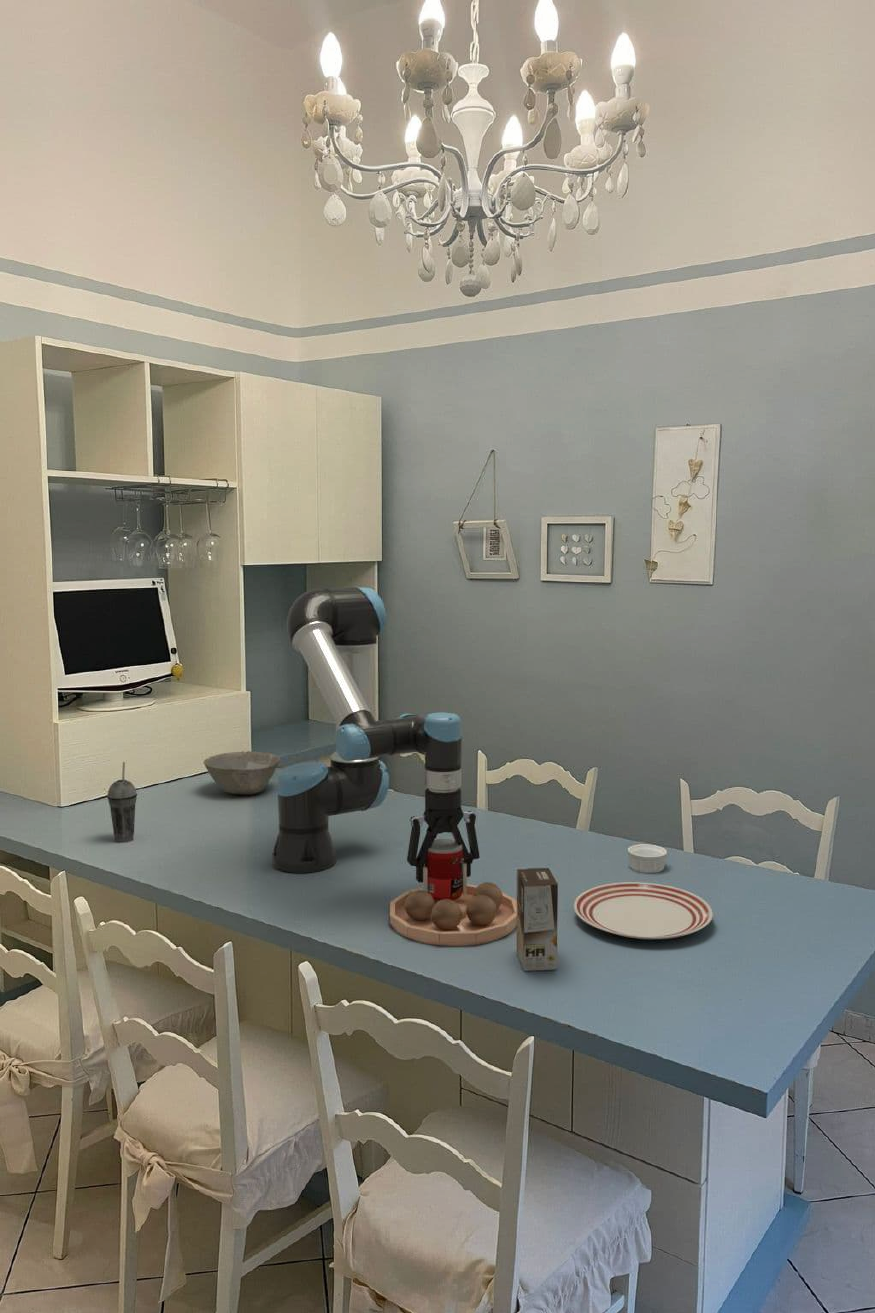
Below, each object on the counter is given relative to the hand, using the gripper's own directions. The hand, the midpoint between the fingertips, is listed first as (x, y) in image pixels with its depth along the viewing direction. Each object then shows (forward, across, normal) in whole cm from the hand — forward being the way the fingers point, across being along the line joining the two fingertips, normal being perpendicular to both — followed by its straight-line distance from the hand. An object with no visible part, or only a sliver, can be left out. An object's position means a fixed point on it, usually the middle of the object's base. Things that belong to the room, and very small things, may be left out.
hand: (443, 894), depth 209 cm
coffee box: (+3, +8, -30) cm, 31 cm away
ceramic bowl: (+3, -30, +104) cm, 108 cm away
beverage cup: (+3, -64, +67) cm, 93 cm away
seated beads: (+2, 0, -9) cm, 9 cm away
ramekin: (+3, +52, +8) cm, 53 cm away
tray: (+3, 0, -7) cm, 8 cm away
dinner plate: (+3, +36, -19) cm, 41 cm away
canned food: (+1, 0, 0) cm, 1 cm away
